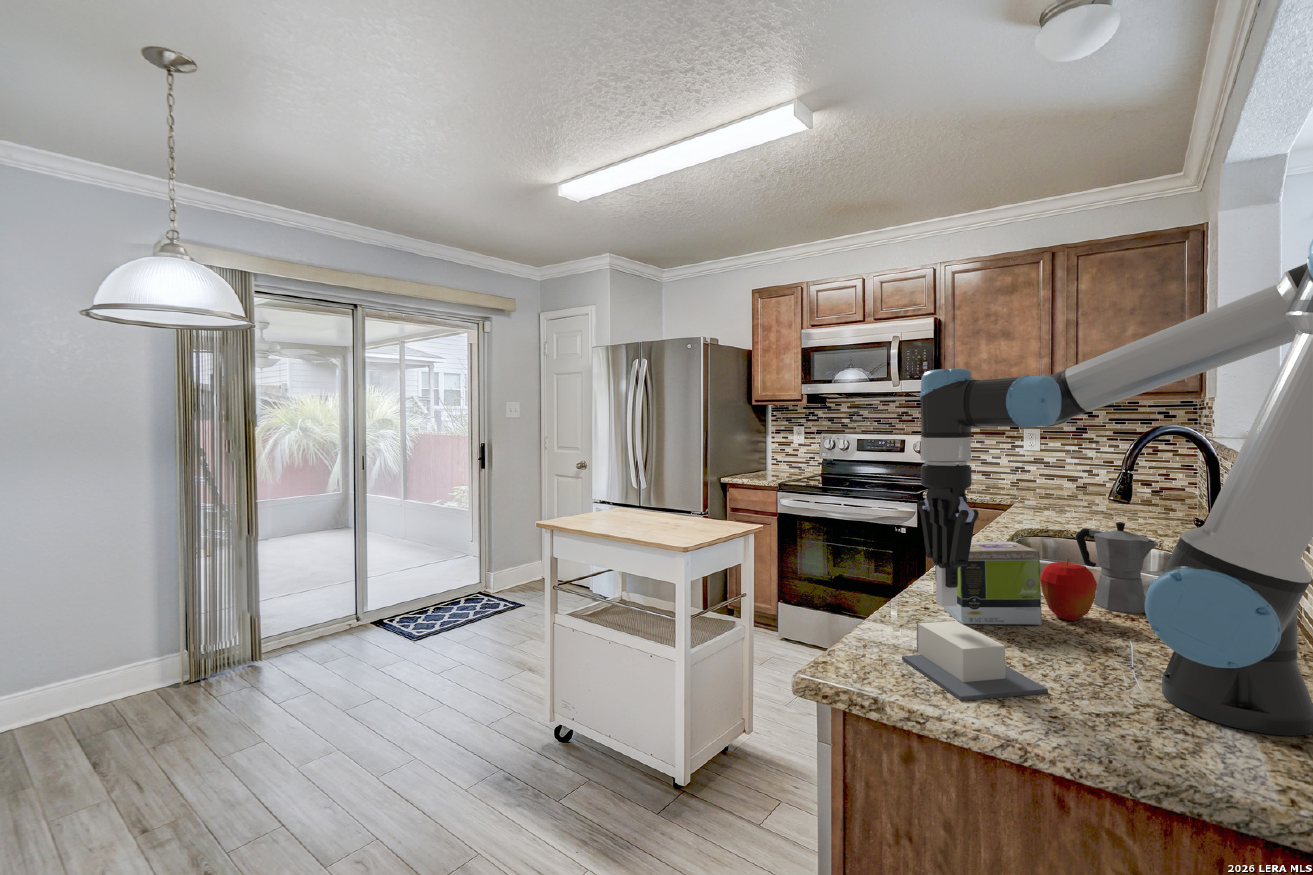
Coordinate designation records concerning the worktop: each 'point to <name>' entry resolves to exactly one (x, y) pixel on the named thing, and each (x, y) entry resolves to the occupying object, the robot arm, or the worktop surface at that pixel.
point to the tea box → (999, 585)
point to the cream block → (961, 650)
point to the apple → (1068, 589)
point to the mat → (976, 682)
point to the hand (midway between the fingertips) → (946, 604)
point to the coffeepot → (1118, 567)
